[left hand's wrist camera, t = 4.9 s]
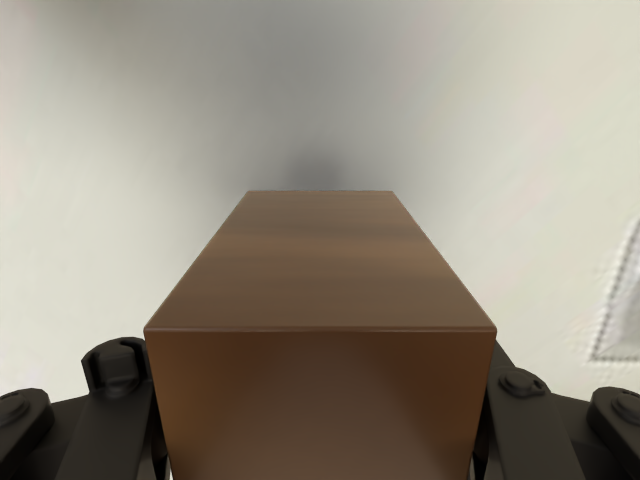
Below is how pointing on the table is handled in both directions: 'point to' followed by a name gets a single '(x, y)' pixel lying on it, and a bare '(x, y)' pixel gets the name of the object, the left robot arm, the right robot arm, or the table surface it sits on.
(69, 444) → the left robot arm
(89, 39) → the table surface
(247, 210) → the bar
